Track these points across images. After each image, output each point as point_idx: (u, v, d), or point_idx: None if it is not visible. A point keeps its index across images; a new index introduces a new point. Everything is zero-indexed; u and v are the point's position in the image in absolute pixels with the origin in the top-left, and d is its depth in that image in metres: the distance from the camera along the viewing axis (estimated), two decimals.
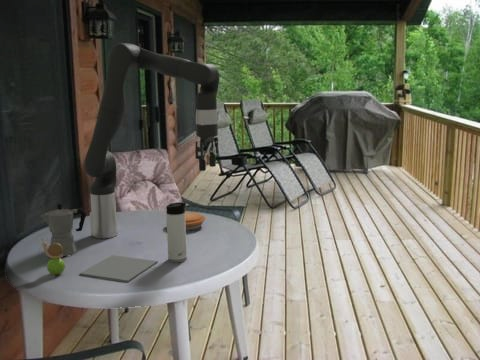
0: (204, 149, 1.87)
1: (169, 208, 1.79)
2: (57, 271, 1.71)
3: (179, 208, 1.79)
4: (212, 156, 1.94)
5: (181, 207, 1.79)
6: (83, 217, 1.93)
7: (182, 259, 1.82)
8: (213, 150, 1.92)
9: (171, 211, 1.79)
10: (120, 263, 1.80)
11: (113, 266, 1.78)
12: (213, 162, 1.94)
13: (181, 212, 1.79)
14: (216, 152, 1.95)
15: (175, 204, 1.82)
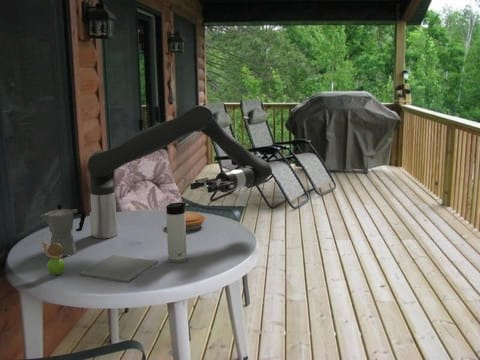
0: None
1: (169, 208, 1.79)
2: (57, 271, 1.71)
3: (179, 208, 1.79)
4: (199, 185, 1.94)
5: (181, 207, 1.79)
6: (83, 217, 1.93)
7: (182, 259, 1.82)
8: (206, 187, 1.95)
9: (171, 211, 1.79)
10: (120, 263, 1.80)
11: (113, 266, 1.78)
12: (194, 187, 1.92)
13: (181, 212, 1.79)
14: None
15: (175, 204, 1.82)
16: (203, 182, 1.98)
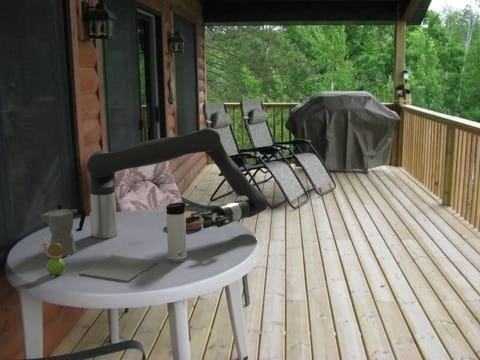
0: None
1: (169, 208, 1.79)
2: (57, 271, 1.71)
3: (179, 208, 1.79)
4: (194, 219, 1.94)
5: (181, 207, 1.79)
6: (83, 217, 1.93)
7: (182, 259, 1.82)
8: (202, 221, 1.96)
9: (171, 211, 1.79)
10: (120, 263, 1.80)
11: (113, 266, 1.78)
12: (190, 221, 1.93)
13: (181, 212, 1.79)
14: None
15: (175, 204, 1.82)
16: None
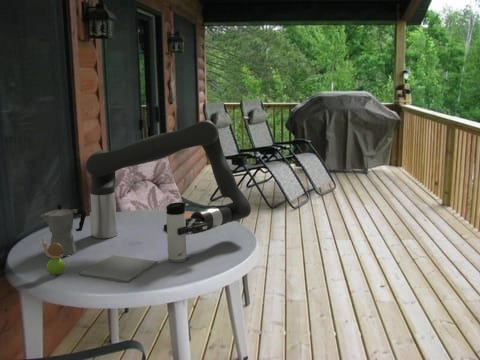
0: None
1: (169, 208, 1.79)
2: (57, 271, 1.71)
3: (179, 208, 1.79)
4: None
5: (181, 207, 1.79)
6: (83, 217, 1.93)
7: (182, 259, 1.82)
8: None
9: (171, 211, 1.78)
10: (120, 263, 1.80)
11: (113, 266, 1.78)
12: None
13: (181, 212, 1.79)
14: None
15: (175, 204, 1.82)
16: None
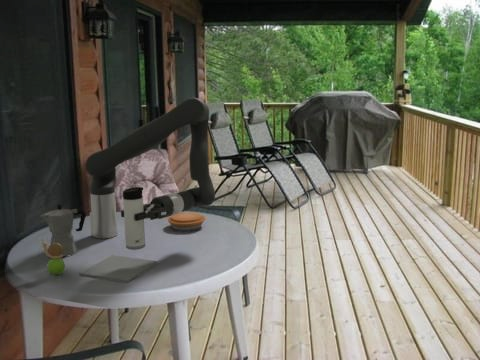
0: None
1: (125, 193, 1.72)
2: (57, 271, 1.71)
3: (136, 193, 1.72)
4: None
5: (138, 192, 1.72)
6: (83, 217, 1.93)
7: (140, 246, 1.76)
8: None
9: (127, 196, 1.72)
10: (120, 263, 1.80)
11: (113, 266, 1.78)
12: None
13: (138, 197, 1.73)
14: None
15: (132, 189, 1.75)
16: None
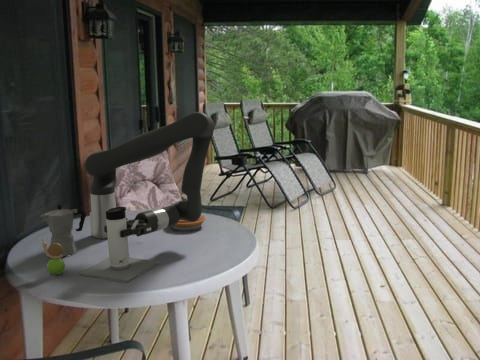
0: None
1: (108, 213, 1.71)
2: (57, 271, 1.71)
3: (118, 213, 1.71)
4: None
5: (121, 212, 1.71)
6: (83, 217, 1.93)
7: (124, 266, 1.75)
8: None
9: (110, 216, 1.71)
10: None
11: None
12: None
13: (121, 217, 1.72)
14: None
15: (115, 209, 1.75)
16: None
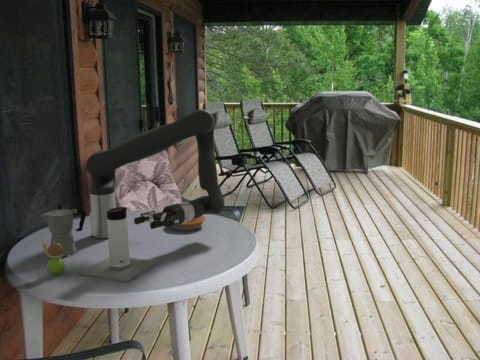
0: None
1: (109, 213, 1.71)
2: (57, 271, 1.71)
3: (119, 213, 1.71)
4: (143, 219, 1.87)
5: (122, 212, 1.71)
6: (83, 217, 1.93)
7: (124, 266, 1.75)
8: (152, 221, 1.89)
9: (111, 216, 1.71)
10: None
11: None
12: (139, 222, 1.86)
13: (122, 217, 1.72)
14: None
15: (116, 209, 1.75)
16: None
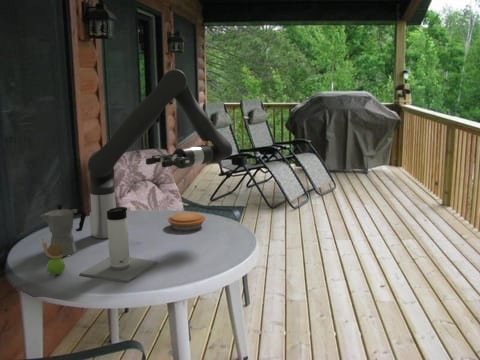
0: None
1: (109, 213, 1.71)
2: (57, 271, 1.71)
3: (119, 213, 1.71)
4: (155, 160, 1.92)
5: (122, 212, 1.71)
6: (83, 217, 1.93)
7: (124, 266, 1.75)
8: None
9: (111, 216, 1.71)
10: None
11: None
12: (150, 162, 1.91)
13: (122, 217, 1.72)
14: None
15: (116, 209, 1.75)
16: None
